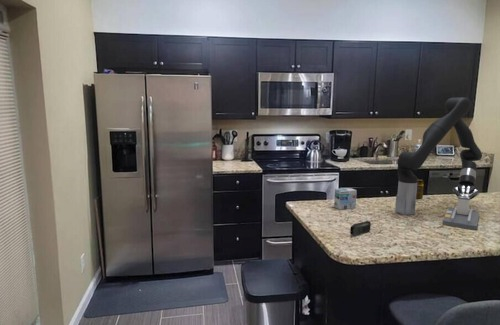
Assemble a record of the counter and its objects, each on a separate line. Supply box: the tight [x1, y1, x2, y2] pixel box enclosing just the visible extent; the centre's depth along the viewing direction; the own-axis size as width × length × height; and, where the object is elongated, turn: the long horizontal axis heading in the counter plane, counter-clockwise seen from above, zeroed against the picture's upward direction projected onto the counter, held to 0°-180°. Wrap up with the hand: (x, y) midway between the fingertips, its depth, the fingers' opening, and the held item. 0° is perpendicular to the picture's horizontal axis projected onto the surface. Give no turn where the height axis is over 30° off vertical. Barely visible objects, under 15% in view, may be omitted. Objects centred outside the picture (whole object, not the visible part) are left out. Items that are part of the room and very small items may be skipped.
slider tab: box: [456, 195, 471, 215], centre depth 178 cm, size 4×5×9 cm
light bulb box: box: [333, 187, 357, 211], centre depth 196 cm, size 11×7×11 cm, turn 105°
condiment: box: [416, 178, 425, 201], centre depth 217 cm, size 7×8×12 cm
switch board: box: [442, 206, 480, 231], centre depth 176 cm, size 28×14×4 cm, turn 145°
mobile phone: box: [349, 220, 372, 238], centre depth 157 cm, size 5×3×15 cm
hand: (463, 204), depth 183 cm, fingers closed
